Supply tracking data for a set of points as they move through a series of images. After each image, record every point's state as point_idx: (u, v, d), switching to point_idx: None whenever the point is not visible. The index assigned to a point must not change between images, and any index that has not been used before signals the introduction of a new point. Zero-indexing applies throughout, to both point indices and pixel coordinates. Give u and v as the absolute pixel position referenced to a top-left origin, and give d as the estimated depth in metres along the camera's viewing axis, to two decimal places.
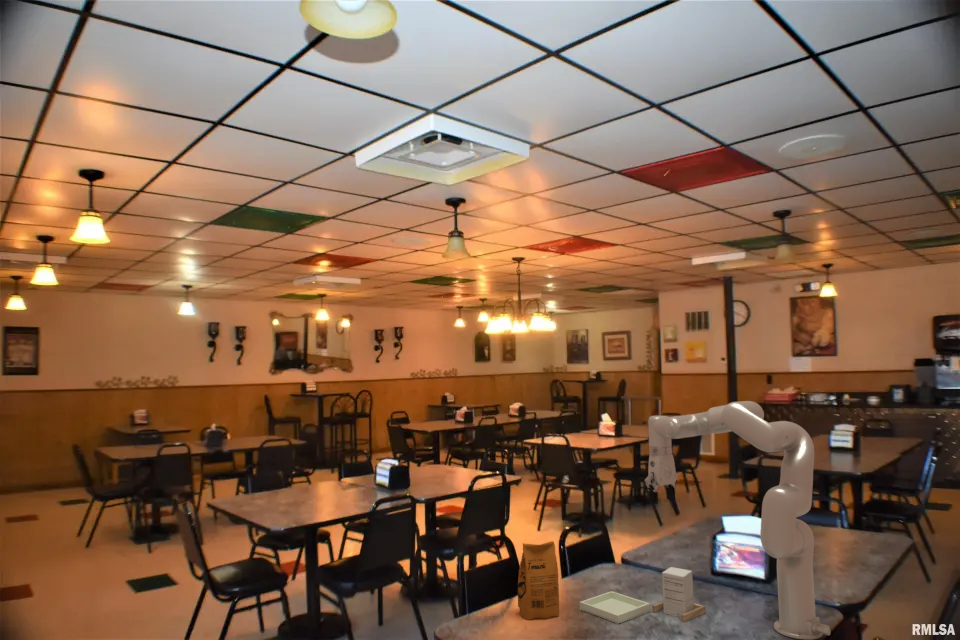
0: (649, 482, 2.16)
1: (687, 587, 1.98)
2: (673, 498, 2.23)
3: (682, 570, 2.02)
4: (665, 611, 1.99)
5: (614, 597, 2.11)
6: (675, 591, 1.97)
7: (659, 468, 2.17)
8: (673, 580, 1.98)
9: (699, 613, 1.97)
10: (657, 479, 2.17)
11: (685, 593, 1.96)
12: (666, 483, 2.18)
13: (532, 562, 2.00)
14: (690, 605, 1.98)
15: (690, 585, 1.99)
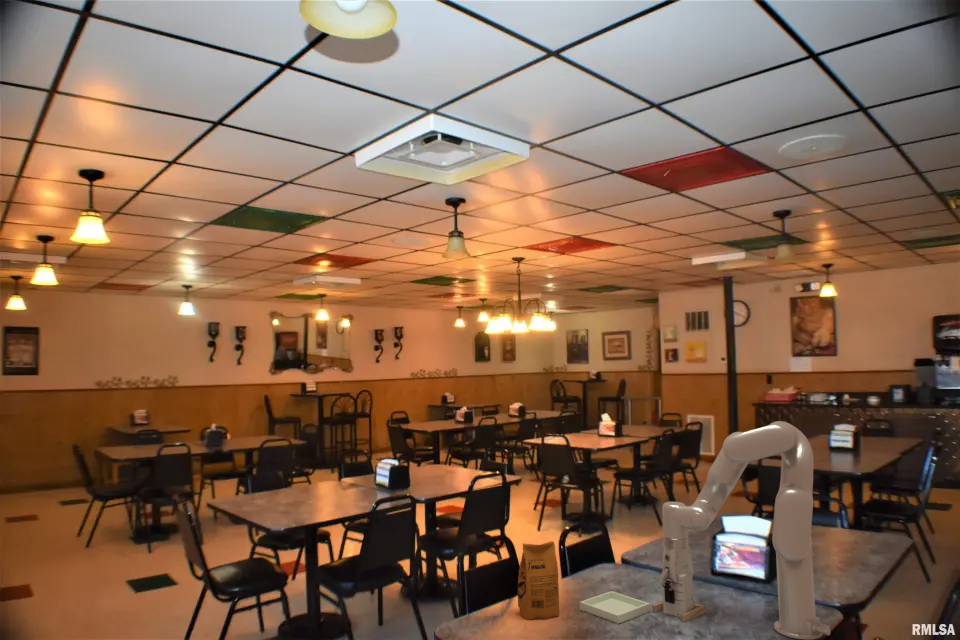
0: (665, 581, 1.96)
1: (687, 586, 1.98)
2: None
3: None
4: (665, 611, 1.99)
5: (614, 597, 2.11)
6: (675, 591, 1.97)
7: (675, 563, 1.97)
8: None
9: (699, 613, 1.97)
10: (673, 575, 1.96)
11: (685, 593, 1.96)
12: None
13: (532, 562, 2.00)
14: (690, 605, 1.98)
15: (690, 584, 1.99)
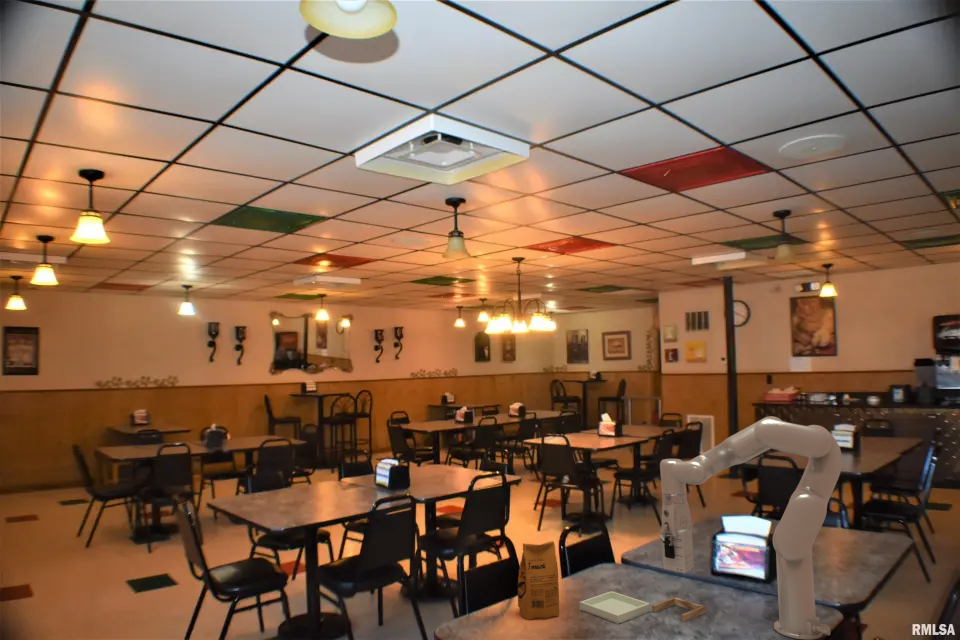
0: (664, 536, 1.97)
1: (687, 542, 1.98)
2: None
3: None
4: (665, 566, 2.00)
5: (614, 597, 2.11)
6: (675, 547, 1.98)
7: (674, 518, 1.98)
8: None
9: (699, 613, 1.97)
10: (672, 530, 1.97)
11: (684, 548, 1.97)
12: None
13: (532, 562, 2.00)
14: (690, 561, 1.99)
15: (689, 540, 2.00)
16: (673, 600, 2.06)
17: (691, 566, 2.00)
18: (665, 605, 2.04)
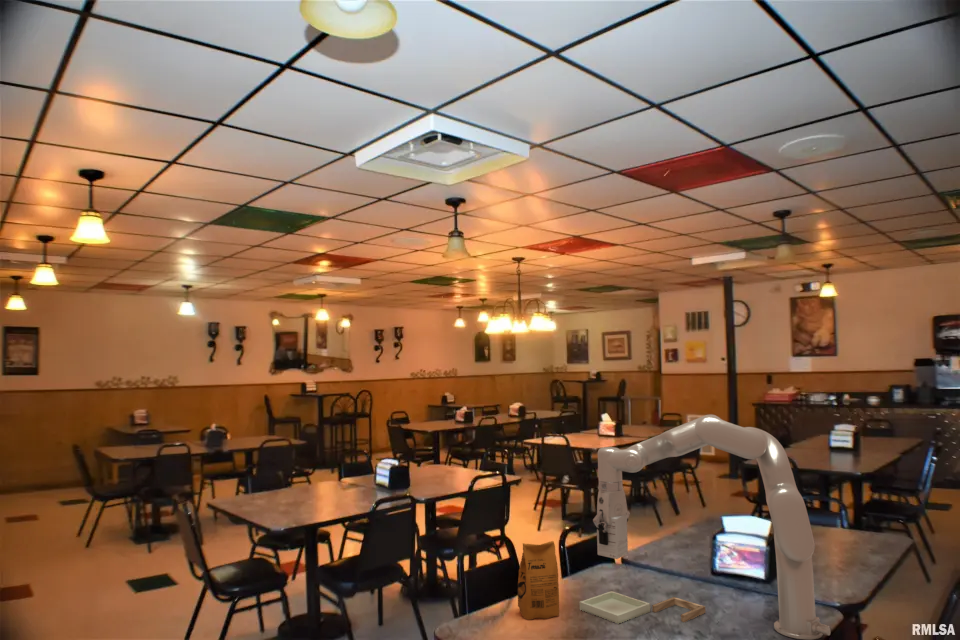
0: (598, 522, 2.00)
1: (620, 529, 2.01)
2: None
3: None
4: (599, 552, 2.03)
5: (614, 597, 2.11)
6: (608, 533, 2.01)
7: (608, 505, 2.00)
8: None
9: (699, 613, 1.97)
10: (606, 517, 2.00)
11: (617, 535, 2.00)
12: None
13: (532, 562, 2.00)
14: (623, 547, 2.02)
15: (623, 527, 2.03)
16: (673, 600, 2.06)
17: (624, 553, 2.03)
18: (665, 605, 2.04)
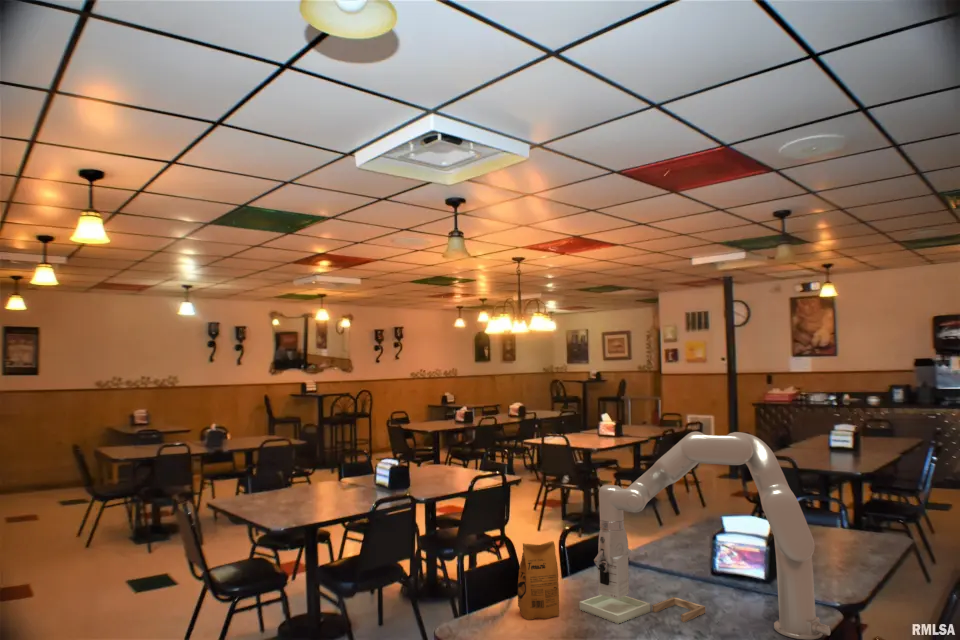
0: (599, 562, 1.99)
1: (621, 569, 2.00)
2: None
3: None
4: (600, 592, 2.02)
5: None
6: (610, 573, 2.00)
7: (609, 545, 1.99)
8: None
9: (699, 613, 1.97)
10: (607, 557, 1.99)
11: (618, 575, 1.99)
12: None
13: (532, 562, 2.00)
14: (624, 587, 2.01)
15: (625, 567, 2.02)
16: (673, 600, 2.06)
17: (625, 592, 2.02)
18: (665, 605, 2.04)
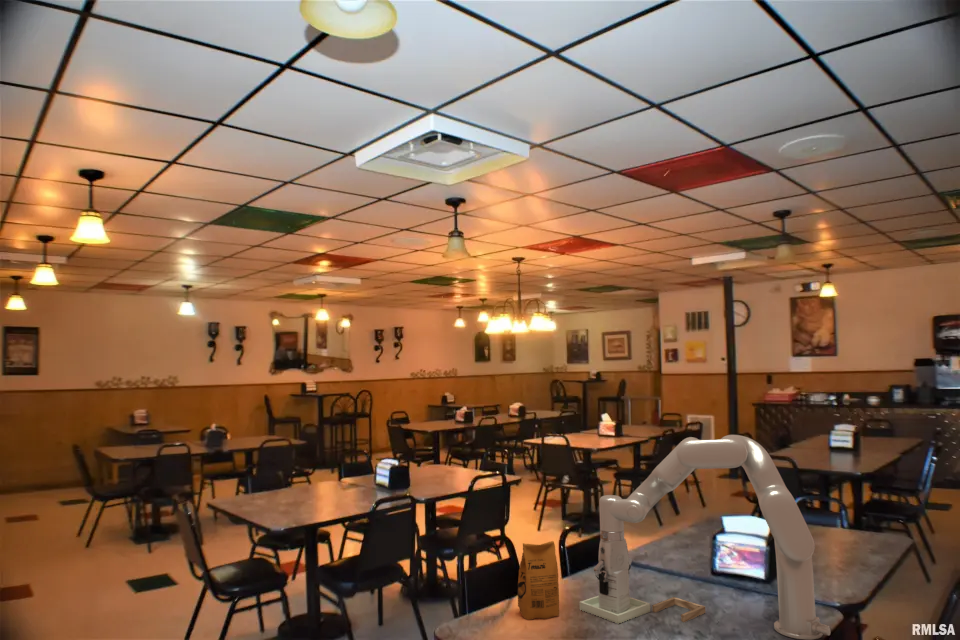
0: (599, 572, 1.98)
1: (622, 583, 2.00)
2: None
3: None
4: (600, 607, 2.02)
5: None
6: (610, 588, 2.00)
7: (610, 556, 1.99)
8: None
9: (699, 613, 1.97)
10: (607, 568, 1.99)
11: (619, 590, 1.98)
12: None
13: (532, 562, 2.00)
14: (625, 602, 2.00)
15: (625, 581, 2.01)
16: (673, 600, 2.06)
17: (626, 607, 2.01)
18: (665, 605, 2.04)
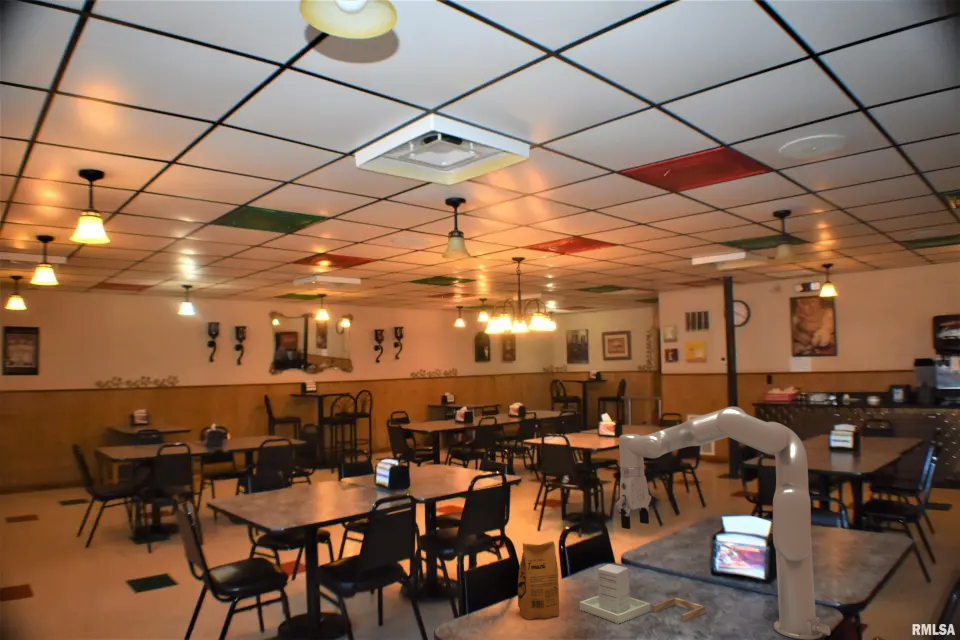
0: (621, 506, 2.02)
1: (622, 583, 2.00)
2: (646, 522, 2.09)
3: (618, 567, 2.04)
4: (600, 607, 2.02)
5: None
6: (610, 588, 2.00)
7: (631, 490, 2.03)
8: (607, 576, 2.00)
9: (699, 613, 1.97)
10: (629, 502, 2.03)
11: (619, 590, 1.98)
12: (639, 506, 2.05)
13: (532, 562, 2.00)
14: (625, 602, 2.00)
15: (625, 581, 2.01)
16: (673, 600, 2.06)
17: (626, 607, 2.01)
18: (665, 605, 2.04)
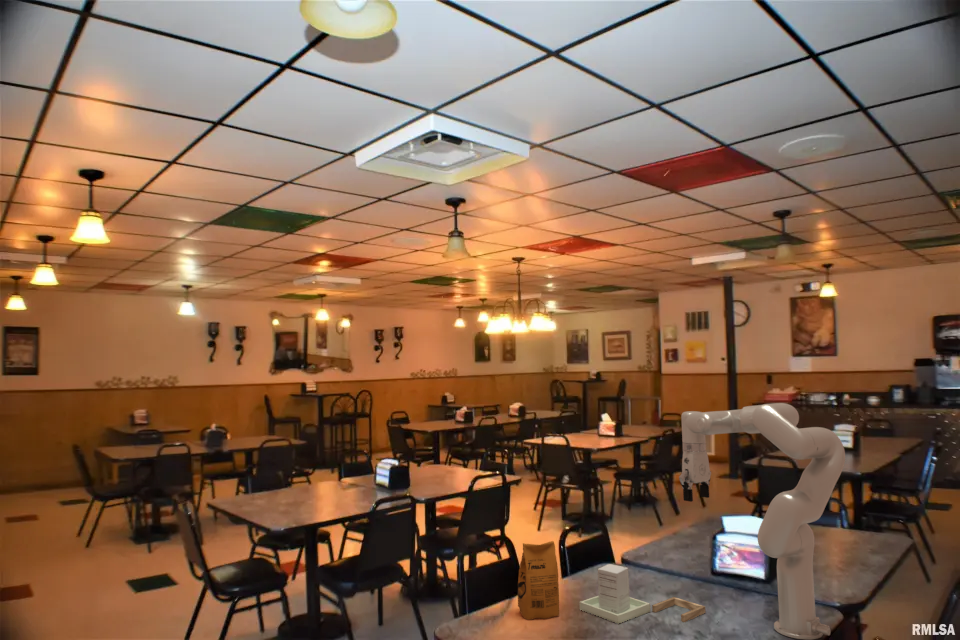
0: (684, 480, 2.11)
1: (622, 583, 2.00)
2: (707, 496, 2.17)
3: (618, 567, 2.04)
4: (600, 607, 2.02)
5: None
6: (610, 588, 2.00)
7: (694, 465, 2.12)
8: (607, 576, 2.00)
9: (699, 613, 1.97)
10: (692, 476, 2.12)
11: (619, 590, 1.98)
12: (701, 480, 2.13)
13: (532, 562, 2.00)
14: (625, 602, 2.00)
15: (625, 581, 2.01)
16: (673, 600, 2.06)
17: (626, 607, 2.01)
18: (665, 605, 2.04)
